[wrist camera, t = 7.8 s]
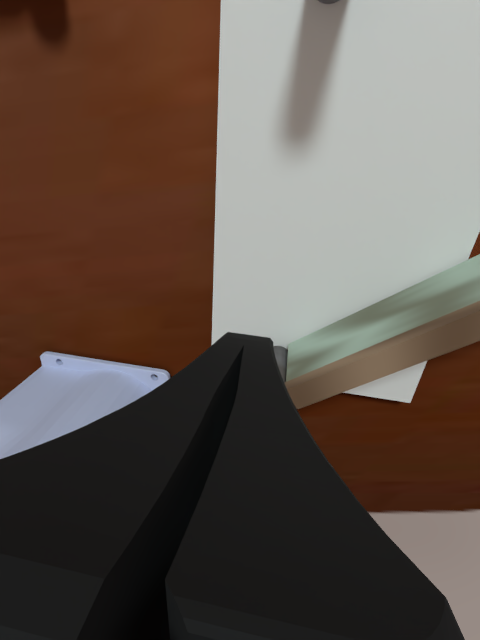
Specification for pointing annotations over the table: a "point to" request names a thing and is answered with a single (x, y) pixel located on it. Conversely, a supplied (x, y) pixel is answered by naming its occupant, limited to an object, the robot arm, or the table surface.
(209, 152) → the table surface
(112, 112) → the table surface
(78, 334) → the table surface
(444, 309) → the gate
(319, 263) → the gate board
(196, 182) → the table surface
